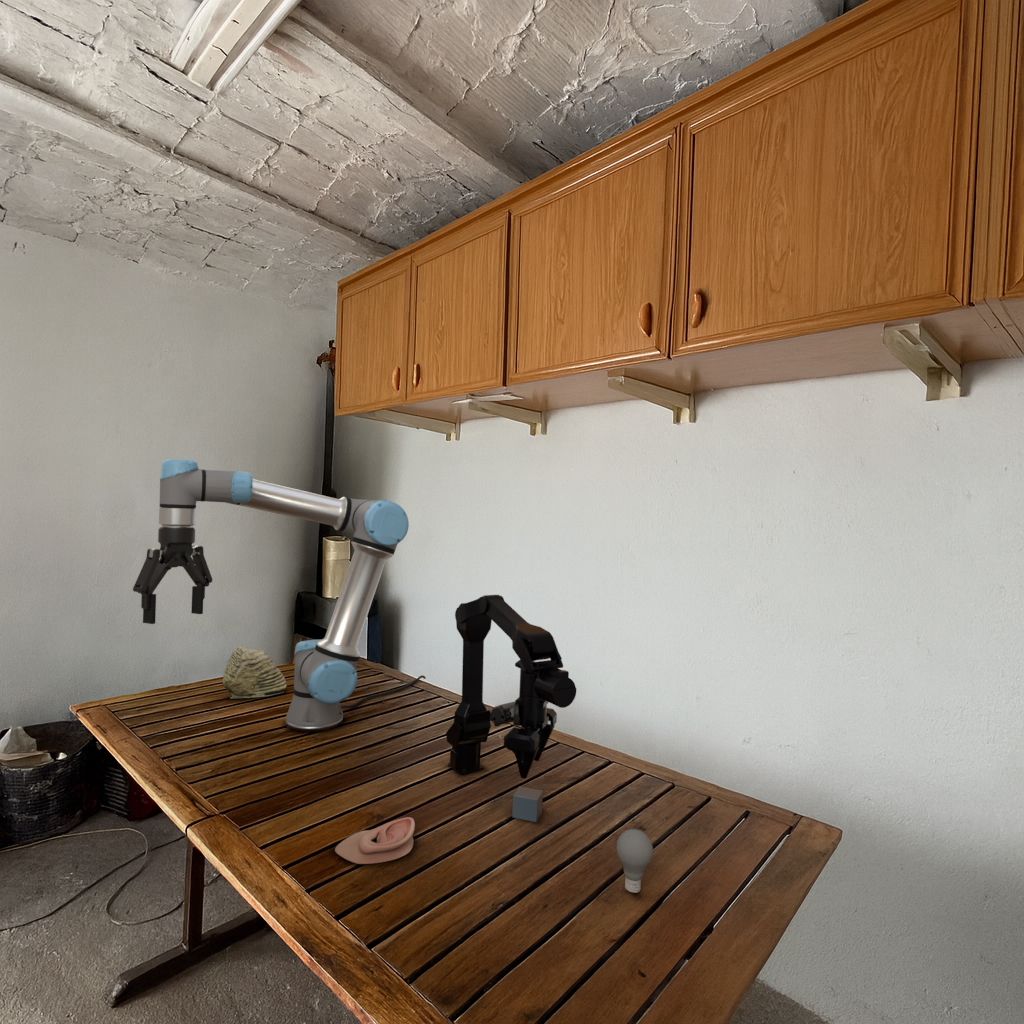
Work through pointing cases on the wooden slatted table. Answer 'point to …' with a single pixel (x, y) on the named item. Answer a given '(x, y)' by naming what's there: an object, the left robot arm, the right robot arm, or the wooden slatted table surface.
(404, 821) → the anatomical model
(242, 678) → the fossil
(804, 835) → the wooden slatted table surface
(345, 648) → the left robot arm
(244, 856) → the wooden slatted table surface
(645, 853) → the light bulb
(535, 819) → the block
